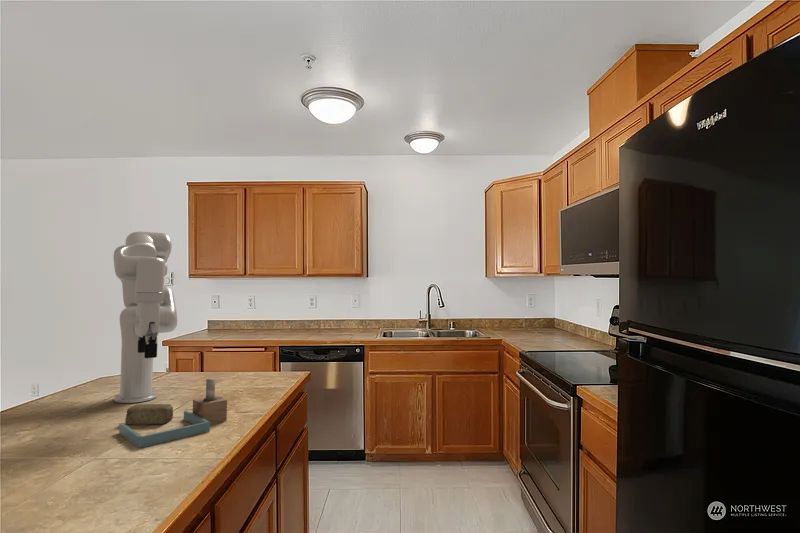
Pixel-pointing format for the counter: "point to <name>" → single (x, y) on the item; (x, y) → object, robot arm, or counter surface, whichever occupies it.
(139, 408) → the stone block
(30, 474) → the counter surface
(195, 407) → the block with knob
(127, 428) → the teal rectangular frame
